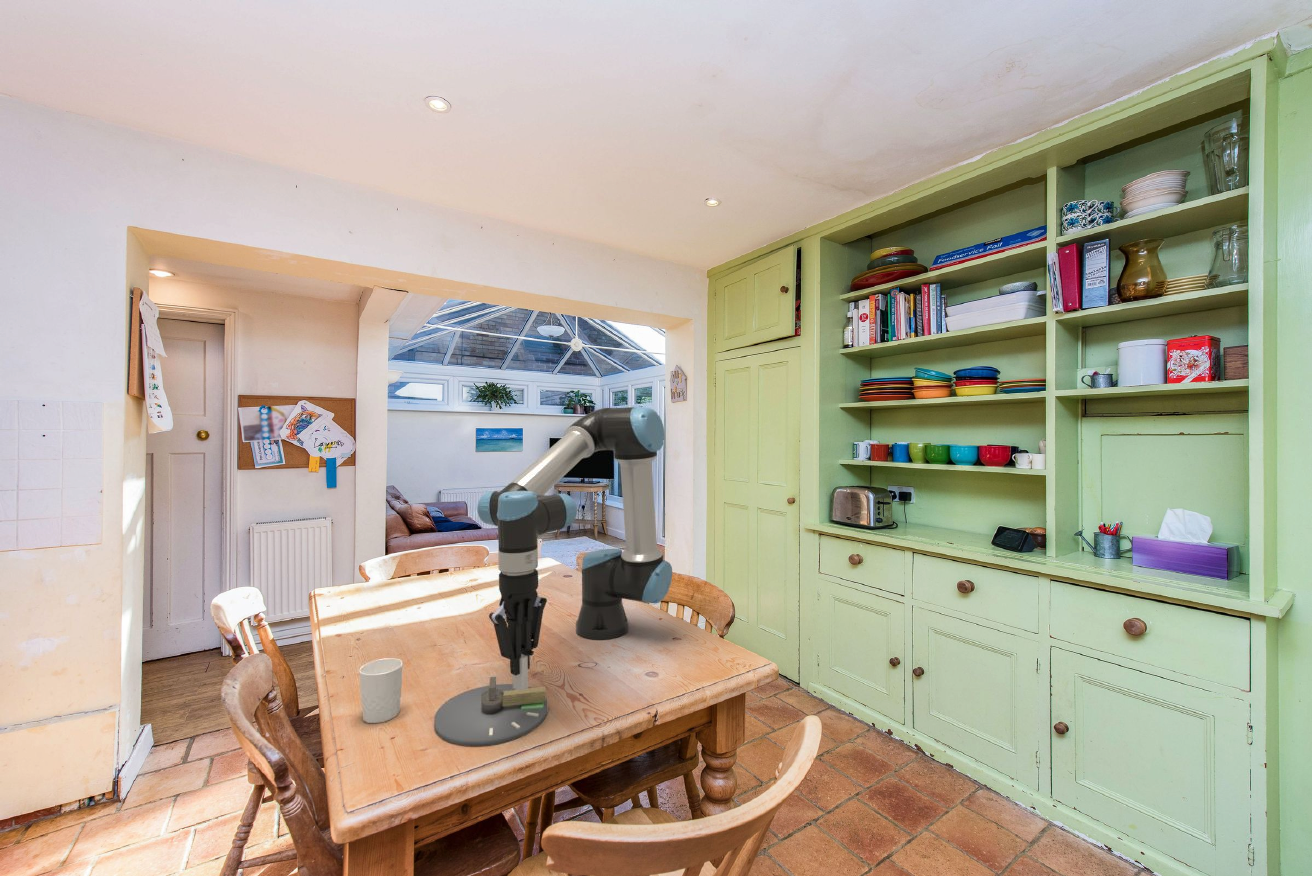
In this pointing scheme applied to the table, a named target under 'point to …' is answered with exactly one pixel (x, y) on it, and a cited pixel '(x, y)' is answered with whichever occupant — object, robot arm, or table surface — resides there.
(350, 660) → the table surface
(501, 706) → the needle
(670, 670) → the table surface
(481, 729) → the dial
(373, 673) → the white cup
